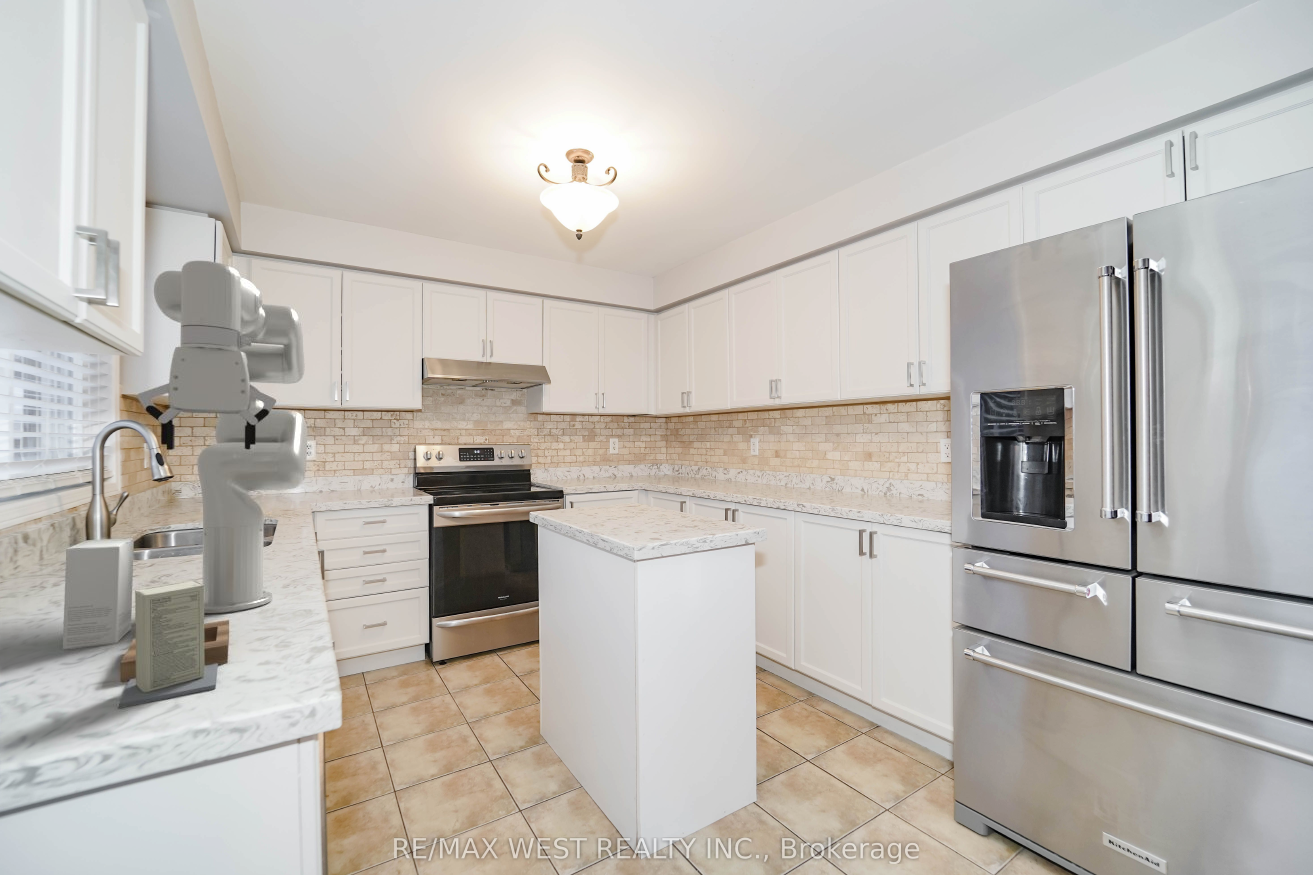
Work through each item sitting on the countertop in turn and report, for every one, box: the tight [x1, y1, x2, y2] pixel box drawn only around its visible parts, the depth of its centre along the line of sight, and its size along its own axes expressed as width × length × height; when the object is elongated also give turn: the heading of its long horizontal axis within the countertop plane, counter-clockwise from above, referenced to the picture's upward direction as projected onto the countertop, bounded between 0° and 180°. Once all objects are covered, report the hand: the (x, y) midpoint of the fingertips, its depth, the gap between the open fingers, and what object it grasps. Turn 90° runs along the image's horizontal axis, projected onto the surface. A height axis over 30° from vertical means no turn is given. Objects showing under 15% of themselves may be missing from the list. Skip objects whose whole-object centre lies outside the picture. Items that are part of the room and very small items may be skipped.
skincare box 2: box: [134, 580, 205, 693], centre depth 73 cm, size 6×4×12 cm
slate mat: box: [117, 663, 219, 709], centre depth 73 cm, size 9×9×1 cm
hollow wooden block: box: [119, 619, 230, 683], centre depth 83 cm, size 15×11×2 cm
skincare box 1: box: [62, 537, 135, 651], centre depth 91 cm, size 8×7×16 cm
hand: (210, 449), depth 90 cm, fingers open, 9 cm apart
